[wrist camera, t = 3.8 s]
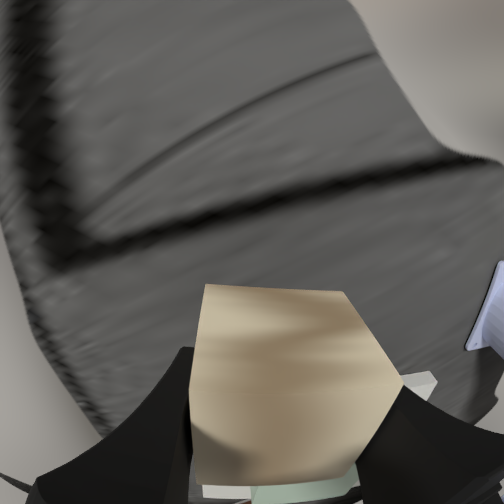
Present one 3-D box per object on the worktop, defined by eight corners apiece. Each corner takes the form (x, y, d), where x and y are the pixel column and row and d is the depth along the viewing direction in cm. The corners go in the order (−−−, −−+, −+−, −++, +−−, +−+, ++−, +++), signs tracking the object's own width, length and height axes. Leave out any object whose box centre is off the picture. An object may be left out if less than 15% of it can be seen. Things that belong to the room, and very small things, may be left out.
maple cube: (342, 291, 11) (404, 382, 6) (314, 386, 12) (343, 477, 8) (205, 283, 10) (188, 390, 5) (203, 385, 12) (196, 484, 7)
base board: (429, 370, 19) (452, 402, 15) (358, 475, 25) (367, 500, 21) (199, 381, 18) (194, 429, 14) (203, 486, 24) (203, 516, 20)
